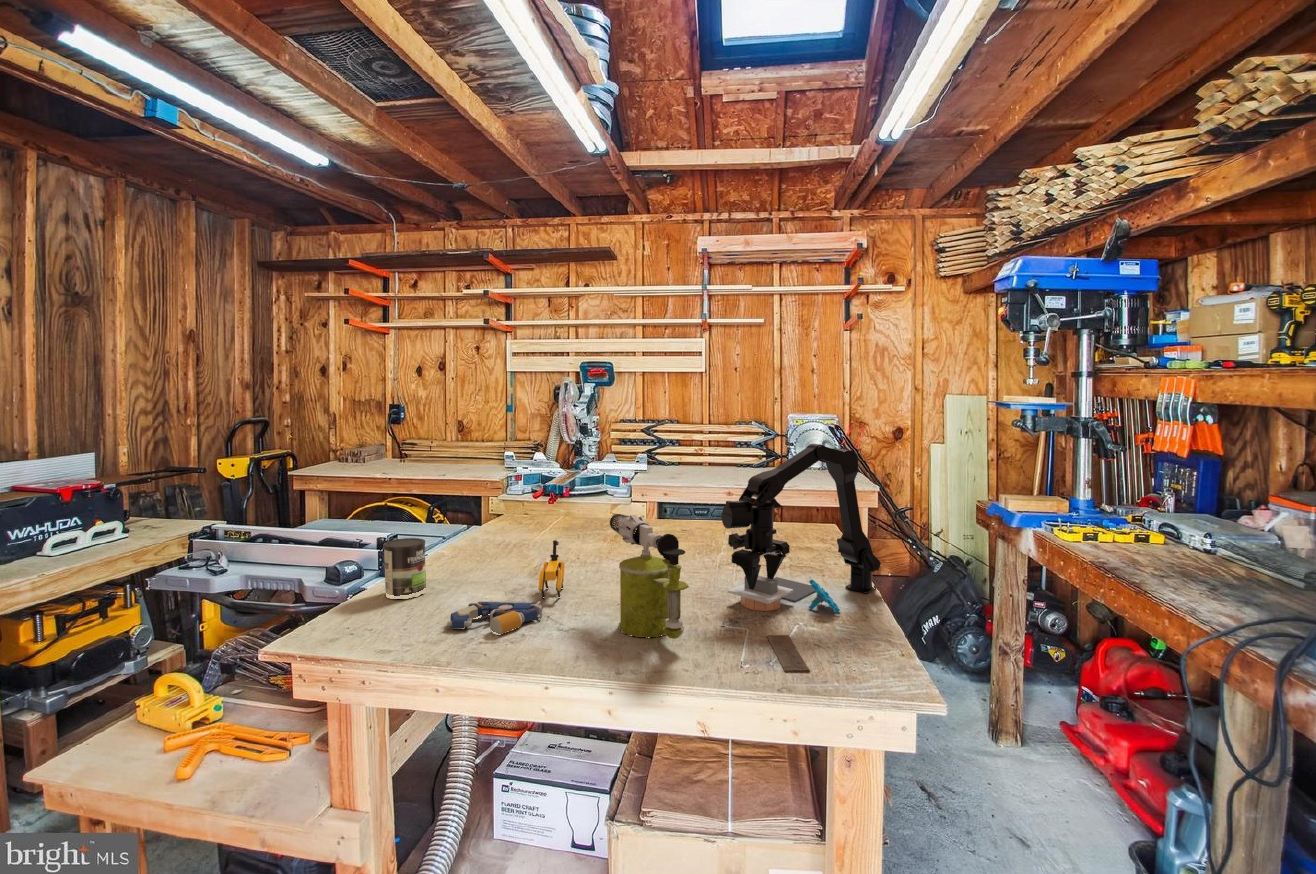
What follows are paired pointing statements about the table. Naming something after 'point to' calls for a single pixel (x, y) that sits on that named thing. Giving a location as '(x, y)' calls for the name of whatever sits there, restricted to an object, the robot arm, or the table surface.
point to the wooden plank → (787, 653)
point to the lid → (762, 590)
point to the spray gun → (497, 615)
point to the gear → (822, 597)
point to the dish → (760, 604)
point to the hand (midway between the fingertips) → (760, 585)
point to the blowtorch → (649, 581)
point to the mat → (795, 589)
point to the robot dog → (552, 572)
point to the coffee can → (404, 566)
